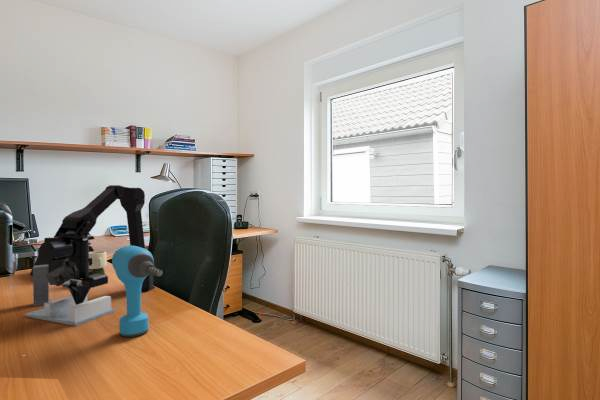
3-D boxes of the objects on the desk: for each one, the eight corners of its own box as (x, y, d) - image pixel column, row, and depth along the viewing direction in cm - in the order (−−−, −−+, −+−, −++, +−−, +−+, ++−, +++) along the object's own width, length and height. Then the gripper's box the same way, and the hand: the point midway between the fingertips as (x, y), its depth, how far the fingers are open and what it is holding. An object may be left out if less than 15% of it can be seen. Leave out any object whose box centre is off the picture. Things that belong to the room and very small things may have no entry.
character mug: (84, 282, 147) (83, 251, 147) (102, 279, 152) (102, 249, 152) (90, 287, 140) (90, 255, 139) (110, 284, 145) (109, 252, 144)
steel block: (49, 301, 122) (48, 264, 122) (48, 304, 119) (47, 266, 118) (34, 303, 120) (34, 265, 120) (33, 306, 117) (32, 267, 116)
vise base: (114, 311, 112) (114, 296, 112) (75, 326, 100) (75, 309, 99) (67, 303, 120) (67, 289, 120) (25, 316, 108) (25, 300, 107)
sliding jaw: (87, 304, 115) (87, 292, 115) (50, 317, 104) (49, 303, 104) (82, 304, 116) (82, 292, 116) (44, 316, 105) (44, 302, 105)
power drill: (179, 350, 84) (178, 253, 84) (142, 362, 78) (141, 258, 78) (138, 319, 105) (137, 241, 104) (106, 327, 99) (105, 244, 98)
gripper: (29, 258, 104) (31, 310, 104) (73, 263, 97) (75, 319, 97) (66, 252, 114) (67, 300, 115) (108, 256, 107) (109, 306, 108)
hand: (79, 306), depth 108 cm, fingers closed
